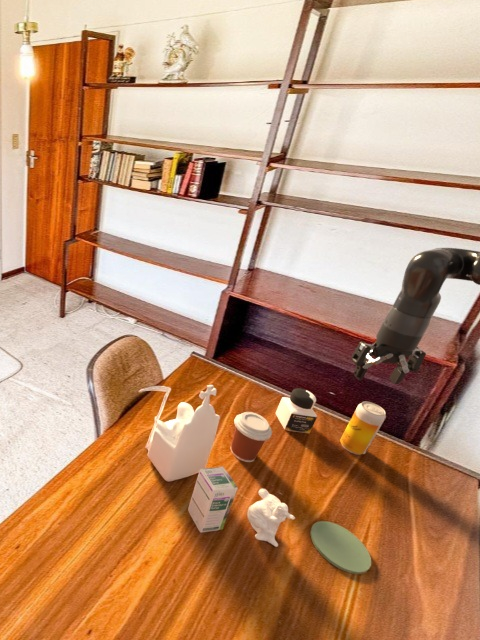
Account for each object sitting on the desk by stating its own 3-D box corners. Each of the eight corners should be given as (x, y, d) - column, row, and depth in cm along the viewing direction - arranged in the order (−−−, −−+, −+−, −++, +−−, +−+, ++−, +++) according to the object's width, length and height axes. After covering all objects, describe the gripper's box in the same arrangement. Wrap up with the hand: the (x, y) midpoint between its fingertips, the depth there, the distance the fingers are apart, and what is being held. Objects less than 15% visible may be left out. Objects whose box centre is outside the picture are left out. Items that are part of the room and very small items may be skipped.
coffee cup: (267, 456, 110) (280, 424, 105) (250, 471, 106) (263, 439, 100) (236, 435, 117) (247, 404, 112) (218, 448, 112) (229, 416, 107)
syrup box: (199, 533, 90) (215, 491, 84) (186, 509, 95) (200, 467, 89) (222, 530, 91) (239, 488, 85) (208, 506, 96) (222, 464, 90)
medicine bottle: (284, 430, 119) (297, 400, 114) (274, 413, 126) (286, 384, 121) (309, 434, 118) (324, 403, 113) (298, 416, 125) (312, 387, 120)
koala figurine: (288, 550, 87) (307, 515, 82) (261, 554, 86) (278, 519, 81) (263, 514, 95) (278, 480, 90) (237, 516, 94) (251, 482, 89)
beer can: (341, 435, 118) (361, 397, 112) (366, 448, 114) (388, 408, 108) (337, 447, 114) (357, 407, 108) (363, 459, 110) (386, 420, 104)
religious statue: (175, 434, 116) (197, 351, 103) (208, 472, 105) (238, 384, 92) (124, 448, 111) (141, 362, 98) (153, 490, 100) (177, 398, 87)
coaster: (365, 539, 90) (367, 537, 90) (373, 585, 82) (375, 583, 81) (309, 514, 95) (310, 512, 95) (310, 555, 87) (312, 552, 86)
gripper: (382, 332, 93) (354, 386, 100) (448, 338, 91) (416, 393, 98) (361, 316, 99) (337, 367, 106) (423, 321, 98) (395, 374, 105)
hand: (375, 379), depth 102 cm, fingers open, 8 cm apart
